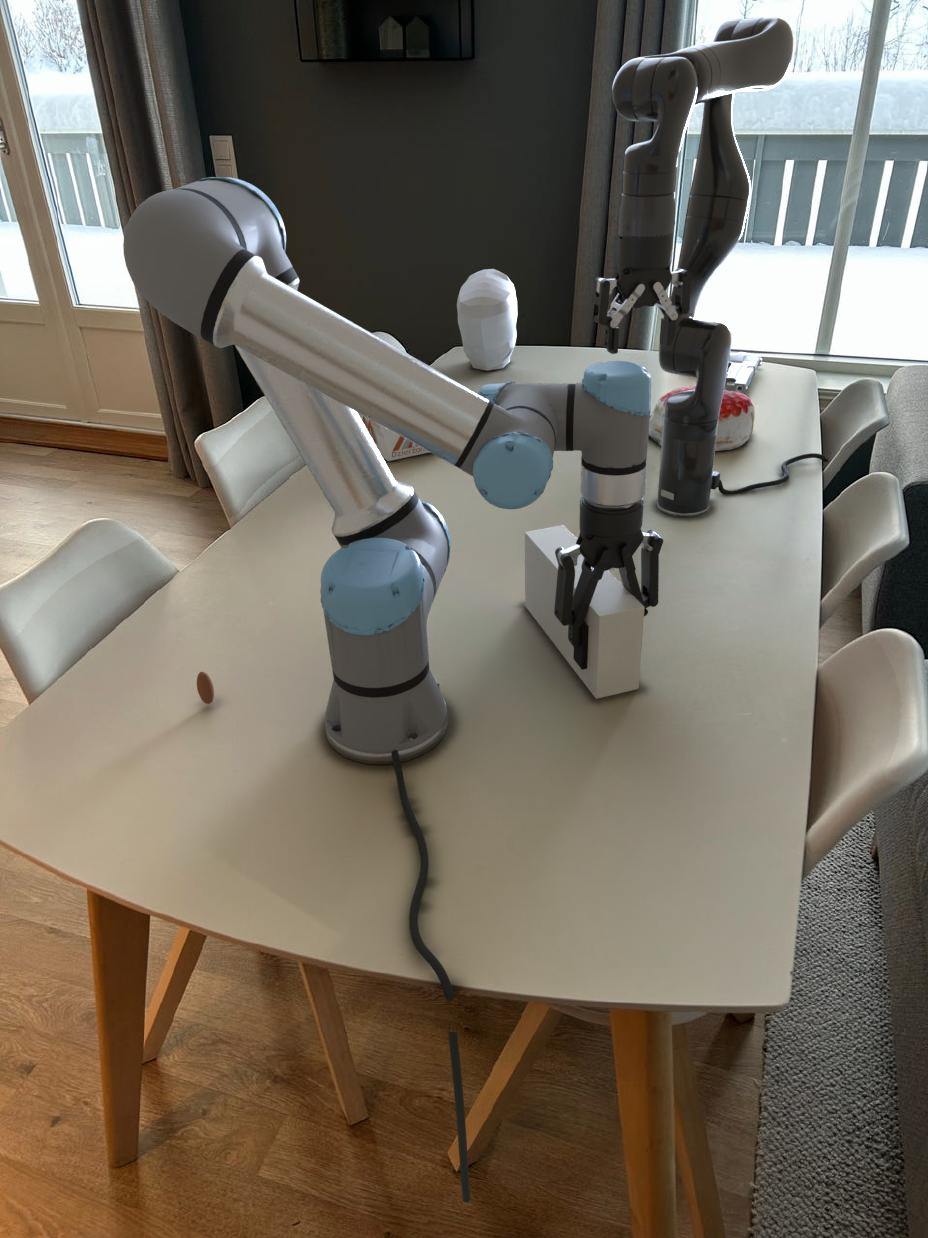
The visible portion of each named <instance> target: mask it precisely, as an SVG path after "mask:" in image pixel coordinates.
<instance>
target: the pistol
mask: <svg viewBox="0 0 928 1238" xmlns="http://www.w3.org/2000/svg"><path fill="white" fill-rule="evenodd" d="M763 361H764V360H763V358H762V356H761V355H759V354H758V355H757V354H752V353H747V352H744V351H739V352H737V353H730V357H729V363H728V369H727V374H726V381H725V388H724V390H727V391H735V392H740V393H743V394H745V393H746V392H747V390H748V389H749V385H750V384H751V382H752V380H753V377H754V376H755V374H756V372H757V371H758V369H759V367H761V366H762V365H763V363H762V362H763Z"/></svg>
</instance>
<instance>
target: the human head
mask: <svg viewBox="0 0 928 1238" xmlns="http://www.w3.org/2000/svg"><path fill="white" fill-rule="evenodd" d="M456 310H457V325H458V329H459V332H460V336H461V342H462V348H463V352H464V354H465V356H466V358H467V359H468V360H469V362H470V364H471V366H472V368H473V369H477V370H482V371H487V372H489V371H495V370H500V369H504V368H505V367H506V365H508V364H509V363H510V362H511V356H512V354H513V351H514V348H515V346H516V343H517V342H516V341H517V336H518V334H517V319H518V299H517V294H516V288H515V285H514V283H513V282H512V281H511V279H510V278H509V276H508V275H507V274H505V273H503V272H501V271H500V270H497V269H495V268H488V269H487V268H486V269H482V270H479V271H477V272H475V273H473V274H471V275H469V276H468V277H467V279H466V280H465V282H464V283H463V284H462V286H461V287H460V290H459V293H458V295H457V301H456Z"/></svg>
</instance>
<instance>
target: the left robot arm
mask: <svg viewBox="0 0 928 1238" xmlns="http://www.w3.org/2000/svg"><path fill="white" fill-rule="evenodd" d="M285 227H286V226H285V223H284V221H283V218H282V215H281V214H280V212H279V210H278V208H277V207H276V205H275V203H274V202H273V201H272V200H271V199H270V198H269V196H267V194H265V193H264V192H263V191H262V190H261V189H259V188H258V187H257V186H255V185H253V184H252V183H249V182H247V181H245V180H242V179H239V178H235V177H229V176H227V177H225V176H223V177H222V176H209V177H202V178H200V179H198V180H196V181H193V182H191V183H187V184H185V185H184V184H183V185H182V186H179V187H176V188H172V189H167V190H164V191H161V192H157V193H155V194H153V195H151V196H149V197H147V198H146V199H145V200H144V201H142V202H141V203H140V204H138V206H137V207H136V208H135V209H134V211H133V212H132V214H131V216H130V217H129V219H128V221H127V224H126V227H125V230H124V236H123V245H122V247H123V248H122V249H123V258H124V263H125V268H126V269H127V272H128V275H129V277H130V280H131V281H132V283H133V285H134V286H135V287H136V289H137V291H138V292H139V293H140V294H141V296H142V298H143V299H145V300H146V302H148V303H149V304H150V305H151V306H152V307H153V308H154V309H155V310H156V311H158V312H159V313H160V314H161V315H162V316H164V317H166V318H167V319H168V320H170V322H173V323H174V324H176V325H177V326H179V327H181V328H183V329H184V330H186V331H188V332H189V333H191V334H192V335H194V336H195V337H198V338H200V339H202V340H203V341H206V342H207V343H209V344H211V345H212V346H214V347H216V348H219V349H223V348H225V347H228V346H232V345H233V346H234V347H235V349H236V350H237V352H238V354H239V355H240V357H241V358H242V360H243V361H244V363H245V365H246V367H247V368H248V370H249V372H250V373H251V376H252V377H253V378H254V380H255V382H256V384H257V385H258V387H259V388H260V390H261V392H262V393H263V395H264V396H265V398H266V400H267V402H268V403H269V405H270V407H271V408H272V410H273V412H274V414H275V415H276V417H277V419H278V420H279V422H280V424H281V425H282V427H283V428H284V430H285V432H286V434H287V435H288V437H289V439H290V440H291V442H292V444H293V446H294V447H295V449H296V450H297V453H298V454H299V455H300V457H301V459H302V460H303V462H304V465H306V467H307V470H308V471H309V472H310V475H312V477H313V479H314V481H315V482H316V484H317V486H318V487H319V489H320V490H321V492H322V494H323V496H324V497H325V499H326V500H327V502H328V504H329V506H330V507H331V509H332V510H333V512H334V518H333V523H332V526H331V533H332V535H333V536H334V538H335V539H336V541H337V543H338V545H339V546H340V548H339V549H337V550H336V551H335V552H334V553H332V554H331V556H330V557H329V558H328V559H327V560H326V562H325V563H324V565H323V567H322V569H321V574H320V575H321V576H320V591H319V593H320V603H321V608H322V611H323V617H324V623H325V630H326V631H325V632H326V636H327V637H326V638H327V642H328V650H329V651H328V652H329V657H330V663H331V664H330V665H331V671H332V677H333V681H332V685H331V689H330V692H329V697H328V701H327V705H326V710H325V715H324V727H325V728H324V729H325V733H326V738H327V741H328V743H329V745H330V746H331V748H333V749H334V750H335V751H336V752H337V753H338V754H339V755H341V756H342V757H345V758H347V759H349V760H352V761H355V762H358V763H363V764H368V765H390V764H391V765H392V764H393V768H394V773H395V780H396V784H397V789H398V795H399V799H400V802H401V807H402V809H403V812H404V814H405V817H406V819H407V822H408V824H409V826H410V828H411V830H412V833H413V835H414V838H415V840H416V843H417V847H418V852H419V858H420V860H419V861H420V867H419V874H418V878H417V882H416V887H415V889H414V891H413V895H412V899H411V904H410V908H409V916H408V925H409V927H408V928H409V933H410V937H411V941H412V943H413V945H414V947H415V949H416V950H417V952H418V953H419V954H420V956H421V957H422V958H423V960H425V961H426V962H427V963H428V965H429V966H430V968H431V969H432V970H433V971H434V973H435V974H436V977H437V978H438V980H439V983H440V986H441V988H442V991H443V994H444V998H445V1000H446V1001H448V1002H452V1001H454V999H455V993H454V988H453V985H452V982H451V980H450V977H449V975H448V973H447V970H445V968H444V966H443V964H442V962H440V960H439V959H438V957H436V956H435V955H434V953H433V952H432V951H431V950H430V949H429V948H428V947H427V946H426V944H425V942H424V941H423V939H422V936H421V934H420V929H419V924H418V923H419V921H418V919H419V918H418V917H419V909H420V905H421V901H422V898H423V894H424V890H425V888H426V884H427V880H428V875H429V874H428V873H429V852H428V847H427V843H426V839H425V836H424V834H423V831H422V829H421V827H420V824H419V823H418V820H417V818H416V816H415V814H414V812H413V809H412V806H411V803H410V801H409V797H408V792H407V788H406V782H405V777H404V773H403V767H402V762H406V761H409V760H412V759H415V758H417V757H420V756H422V755H424V754H426V753H427V752H429V751H430V750H432V749H433V748H434V747H436V746H437V745H438V743H440V742H441V740H442V739H443V738H444V736H445V734H446V732H447V729H448V725H449V720H448V719H449V717H448V707H447V706H448V705H447V703H446V701H445V697H444V696H443V694H442V691H441V689H440V687H441V686H440V683H438V682H436V679H435V678H434V675H433V673H432V671H431V669H430V659H429V657H430V656H429V655H430V654H429V643H428V630H427V629H428V626H427V625H428V618H429V615H430V611H431V608H432V605H433V602H434V600H435V598H436V595H437V592H438V590H439V588H440V585H441V582H442V579H443V577H444V576H445V573H446V571H447V567H448V565H449V562H450V556H451V555H450V553H451V534H450V530H449V528H448V524H447V522H446V520H445V518H444V517H443V515H442V514H441V513H440V512H439V511H438V510H437V509H436V508H435V506H433V505H432V504H431V503H429V502H427V501H426V502H425V501H423V500H421V499H420V498H419V496H418V494H417V493H416V491H415V489H414V487H413V486H412V484H410V483H407V482H403V481H400V480H396V479H395V477H394V475H393V474H392V471H391V470H390V468H389V467H388V464H387V463H386V461H385V458H384V457H383V456H381V454H380V452H379V450H378V448H377V447H376V445H375V443H374V441H373V439H372V438H371V436H370V434H369V432H368V430H367V429H366V427H365V425H364V423H363V421H362V419H361V418H360V416H359V414H358V413H360V414H362V415H363V416H365V417H367V418H369V419H371V420H372V421H374V422H376V423H378V424H380V425H381V426H383V427H385V428H387V429H389V430H391V431H392V432H394V433H396V434H398V435H400V436H401V437H403V438H405V439H407V440H409V441H411V442H412V443H414V444H416V445H418V446H420V447H421V448H423V449H425V450H427V451H429V454H433V455H434V456H436V457H438V458H439V459H442V460H444V461H445V462H447V463H448V464H450V465H452V466H454V467H456V468H458V469H459V470H461V471H463V472H464V473H465V474H468V475H469V476H471V477H473V483H474V485H475V486H474V487H475V488H476V490H477V491H478V493H479V494H480V496H481V497H482V498H483V499H484V500H485V501H486V502H487V503H488V504H490V505H492V506H494V507H496V508H499V509H503V510H520V509H522V508H526V507H528V506H530V505H532V504H534V503H535V502H536V501H537V500H538V499H539V498H540V497H541V496H542V495H543V494H544V491H545V489H546V487H547V484H548V482H549V480H550V479H551V477H552V472H553V469H554V453H555V452H574V451H575V452H577V451H580V453H581V457H580V489H579V490H580V496H581V497H580V499H579V519H578V520H579V521H578V522H579V523H578V524H579V525H578V526H579V534H578V537H577V541H576V545H574V546H572V547H569V548H567V549H565V550H564V549H563V548H562V547H559V548H557V549H556V551H555V555H556V558H557V562H558V575H557V586H556V597H555V608H554V615H555V616H556V618H557V619H558V620H559V621H560V622H561V624H562V625H564V626H566V625H568V640H569V642H570V643H571V644H572V646H573V647H574V657H573V659H574V660H575V662H576V663H577V664H578V665H579V667H580V668H581V669H582V670H583V669H587V660H588V633H589V626H588V625H587V624H586V622H585V621H584V620H585V617H586V614H587V611H588V609H589V604H590V603H591V600H592V597H593V595H594V592H595V589H596V586H597V583H598V581H599V580H601V579H602V576H603V573H604V571H607V570H608V571H609V570H611V569H618V572H619V576H620V580H621V584H622V585H623V586H624V587H625V589H626V590H627V591H628V592H629V593H630V594H631V595H633V596H634V597H635V598H636V599H637V600H638V601H639V602H640V603H641V604H642V605H643V606H644V607H645V608H644V617H646V616H647V615H648V614H649V610H648V608H651V607H652V608H654V607H657V606H658V605H659V591H660V590H659V589H660V586H659V581H660V579H659V578H660V575H659V574H660V573H659V570H660V553H661V550H662V547H663V545H664V539H663V538H662V537H661V536H660V535H659V534H657V533H656V532H655V531H654V530H653V529H649V530H647V531H646V532H644V531H642V527H643V520H644V506H645V501H644V499H643V498H644V496H645V495H646V477H647V459H648V458H647V457H648V448H649V437H650V436H649V424H650V416H651V414H652V412H651V408H652V406H651V405H652V403H651V402H652V376H651V374H650V372H649V371H648V369H646V368H645V367H644V366H643V365H640V364H638V363H635V362H631V361H626V360H625V361H622V360H609V361H606V362H603V361H601V362H595V363H593V364H591V365H589V366H588V367H587V368H585V370H584V373H583V378H582V379H581V382H576V383H545V382H544V383H543V382H541V383H540V382H537V383H536V382H515V381H505V382H499V383H487V384H484V385H483V386H481V387H480V388H479V390H478V392H476V391H475V390H472V389H471V388H469V387H467V386H466V385H464V384H462V383H460V382H458V381H456V380H454V379H452V377H449V376H447V375H446V374H444V373H442V372H441V371H439V370H437V369H435V368H433V367H432V366H430V365H429V364H426V363H425V362H424V361H421V360H420V359H418V358H416V357H414V356H412V355H410V354H409V353H407V352H405V351H404V350H402V349H400V348H399V347H396V346H395V345H393V344H391V343H390V342H388V341H386V340H384V339H383V338H381V337H379V336H377V335H375V334H374V333H372V332H370V331H368V330H367V329H365V328H363V327H362V326H360V325H358V324H356V323H355V322H353V321H351V320H349V319H348V318H345V317H344V316H342V315H340V314H338V313H337V312H335V311H334V310H332V309H330V308H328V307H326V306H325V305H323V304H321V303H319V302H317V301H316V300H314V299H312V298H311V297H309V296H307V295H305V294H303V293H302V292H300V291H298V289H299V287H300V281H301V280H300V278H299V276H298V274H297V272H296V270H295V269H294V267H293V264H292V263H291V261H290V259H289V257H288V255H287V254H286V249H287V234H286V233H287V232H286V228H285ZM640 547H641V548H640ZM639 548H640V584H639V580H638V577H637V574H636V570H637V568H636V564H635V561H634V558H633V556H634V555H635V553H636V552H637V550H638V549H639ZM580 554H582V556H583V557H584V560H583V563H582V566H581V568H582V572H581V575H580V578H579V581H578V584H577V587H576V590H575V592H574V595H573V591H574V581H575V568H574V566H576V565H577V558H578V556H579V555H580ZM447 1032H448V1033H447V1034H448V1047H449V1056H450V1064H451V1075H452V1085H453V1094H454V1096H453V1097H454V1106H455V1119H456V1129H457V1131H456V1132H457V1145H458V1158H459V1159H458V1160H459V1172H460V1184H461V1196H462V1197H461V1198H462V1201H463V1203H466V1204H468V1203H469V1202H470V1201H471V1186H470V1185H471V1184H470V1172H469V1160H468V1159H469V1158H468V1157H469V1156H468V1141H467V1129H466V1128H467V1126H466V1113H465V1112H466V1111H465V1099H464V1089H463V1077H462V1065H461V1057H460V1046H459V1036H458V1032H455V1031H450V1030H449V1031H447Z"/></svg>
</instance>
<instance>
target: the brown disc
mask: <svg viewBox="0 0 928 1238" xmlns="http://www.w3.org/2000/svg"><path fill="white" fill-rule="evenodd" d="M196 689H197V694H198V695H199V698H200V700H201V701H202V702H203V703H204V704H206V705H210V704H211V703H212V702H213V701H214V699H215V688H214V683H213V680H212V679H211V677H210V675H209V674H208V673H207V672H206V671H200V672H199V673H198V674H197V677H196Z"/></svg>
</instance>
